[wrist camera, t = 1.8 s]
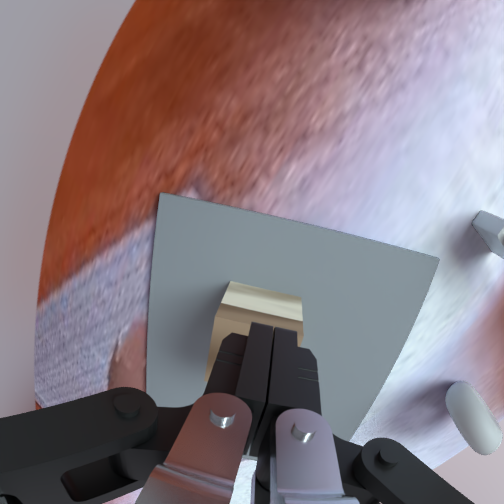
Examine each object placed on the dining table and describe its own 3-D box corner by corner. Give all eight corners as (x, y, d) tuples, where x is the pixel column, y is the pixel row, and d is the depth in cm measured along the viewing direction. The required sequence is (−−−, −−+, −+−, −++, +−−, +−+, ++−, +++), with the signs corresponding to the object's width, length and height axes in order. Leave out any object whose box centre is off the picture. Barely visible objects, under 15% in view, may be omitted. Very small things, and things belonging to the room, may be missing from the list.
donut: (483, 396, 29) (514, 450, 19) (462, 413, 30) (489, 469, 20) (453, 360, 27) (491, 424, 18) (429, 381, 28) (460, 448, 19)
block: (230, 280, 26) (215, 316, 21) (301, 297, 26) (303, 336, 21) (219, 339, 28) (204, 381, 23) (283, 354, 28) (281, 398, 23)
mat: (162, 192, 25) (160, 193, 25) (437, 257, 24) (439, 259, 24) (148, 429, 35) (147, 432, 35) (328, 467, 34) (328, 469, 34)
